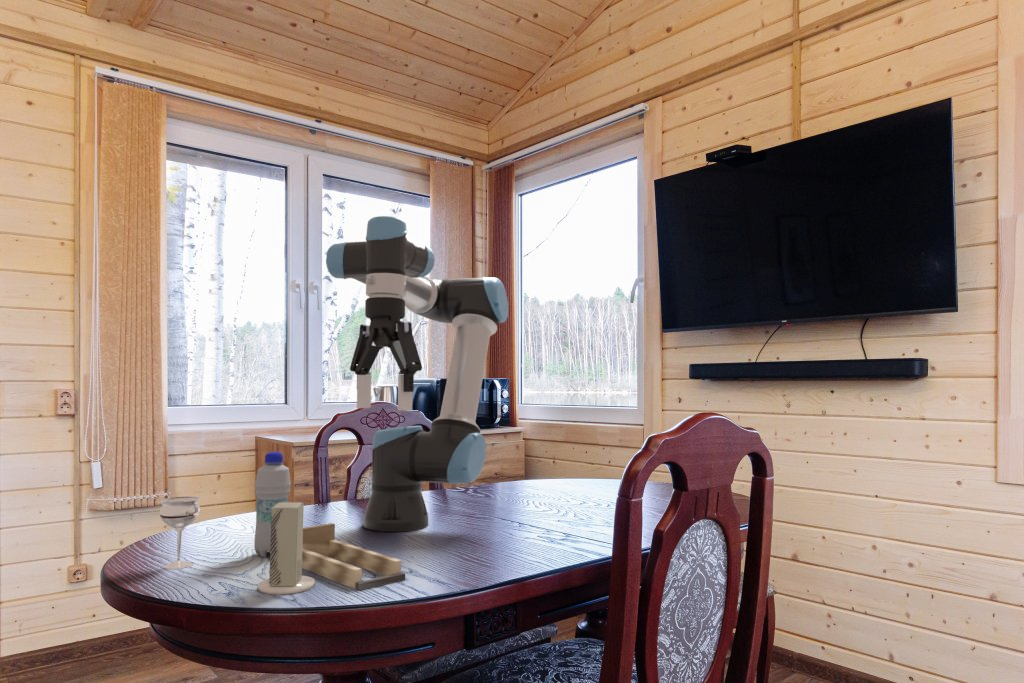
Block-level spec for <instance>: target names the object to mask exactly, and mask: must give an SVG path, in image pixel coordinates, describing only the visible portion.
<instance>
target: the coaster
mask: <svg viewBox="0 0 1024 683" xmlns="http://www.w3.org/2000/svg"><path fill="white" fill-rule="evenodd" d="M315 586H316V580H315V578H314V577H311V576H309V575H302V578H301V579H300V581H299V582H298V583H297V585H296V586H291V587H271V586H269V578H265V579H263V580H261V581H259V583H258V584H257V590H258V591H259V592H260V593H263V594H266V595H278V596H279V595H281V596H282V595H292V594H293V595H294V594H298V593H302V592H303V593H304V592H305V591H306V592H307V591H309V590H311V589H313V588H314V587H315Z"/></svg>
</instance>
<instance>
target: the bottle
mask: <svg viewBox="0 0 1024 683" xmlns="http://www.w3.org/2000/svg"><path fill="white" fill-rule="evenodd" d="M264 464H265V465H263V466H261V467H259V468H258V469H257V471H256V479H255V484H254V486H255V487H254V488H255V491H254V492H255V494H256V510H255V512H256V515H255V516H256V517H255V520H256V521H255V531H254V532H255V534H254V541H253V542H254V544H253V545H254V546H253V547H254V551H255V553H256V555H257V556H261V557H262V558H266V557H267V554H268V553H270V543H271V508H272V507H274V506H275V505H276V504H278V503H280V502H289V493H290V492H291V485H292V483H291V482H292V481H291V475H290V474H291V473H290V468H289V467H288V466H285V465H284V455H283V453H282V452H279V451H270V452H267V453H266V454H265V457H264Z"/></svg>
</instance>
